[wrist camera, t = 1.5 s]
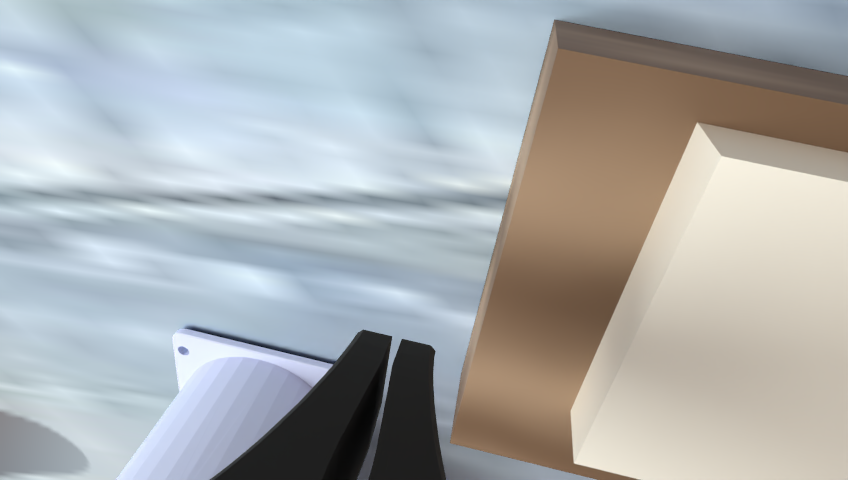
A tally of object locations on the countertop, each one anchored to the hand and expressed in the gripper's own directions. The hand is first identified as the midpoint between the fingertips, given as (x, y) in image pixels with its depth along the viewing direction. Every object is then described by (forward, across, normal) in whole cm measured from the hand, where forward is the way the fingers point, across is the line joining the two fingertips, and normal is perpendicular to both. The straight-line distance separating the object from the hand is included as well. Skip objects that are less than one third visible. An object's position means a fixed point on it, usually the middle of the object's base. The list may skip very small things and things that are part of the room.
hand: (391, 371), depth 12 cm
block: (+5, -9, 0) cm, 10 cm away
